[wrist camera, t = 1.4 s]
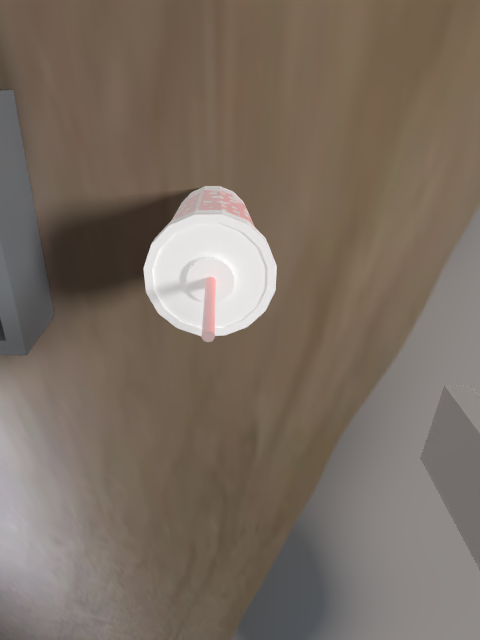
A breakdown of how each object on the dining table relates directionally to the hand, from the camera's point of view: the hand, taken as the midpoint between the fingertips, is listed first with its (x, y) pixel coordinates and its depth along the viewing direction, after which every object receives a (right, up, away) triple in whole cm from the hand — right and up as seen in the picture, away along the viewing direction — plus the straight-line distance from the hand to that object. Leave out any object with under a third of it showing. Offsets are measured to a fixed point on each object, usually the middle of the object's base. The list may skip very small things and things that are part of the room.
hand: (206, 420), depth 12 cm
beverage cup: (-1, +9, +16) cm, 18 cm away
